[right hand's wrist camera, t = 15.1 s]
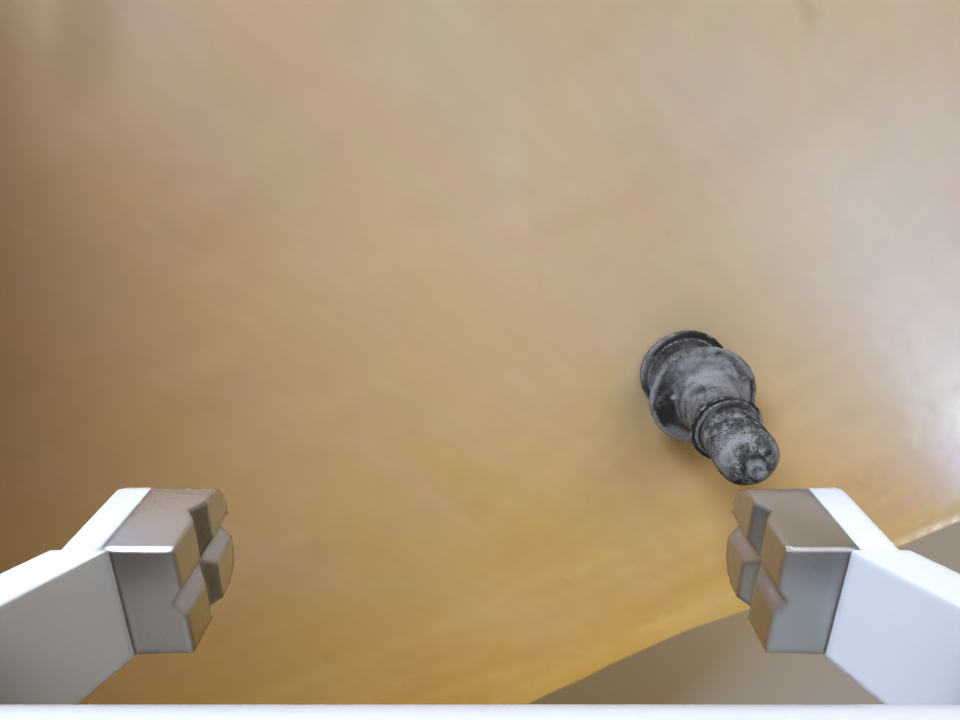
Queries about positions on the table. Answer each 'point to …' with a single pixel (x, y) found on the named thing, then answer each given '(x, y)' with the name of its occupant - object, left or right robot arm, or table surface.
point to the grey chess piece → (709, 404)
